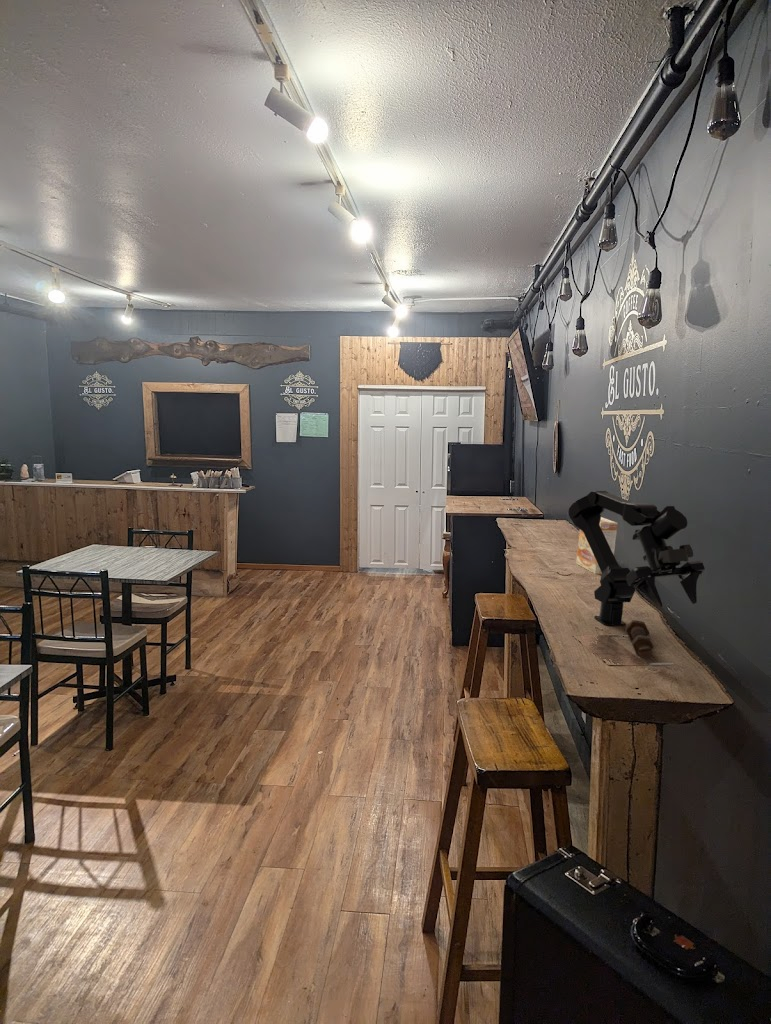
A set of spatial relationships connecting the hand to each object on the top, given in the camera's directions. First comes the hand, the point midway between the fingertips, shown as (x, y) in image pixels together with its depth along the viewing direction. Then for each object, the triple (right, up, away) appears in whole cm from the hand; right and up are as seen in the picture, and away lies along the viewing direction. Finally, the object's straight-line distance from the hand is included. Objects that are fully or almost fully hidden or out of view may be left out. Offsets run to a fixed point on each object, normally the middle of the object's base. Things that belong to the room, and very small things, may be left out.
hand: (678, 605), depth 152 cm
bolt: (-8, -12, +4) cm, 15 cm away
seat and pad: (-13, -12, +4) cm, 17 cm away
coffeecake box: (+8, +1, +85) cm, 85 cm away
